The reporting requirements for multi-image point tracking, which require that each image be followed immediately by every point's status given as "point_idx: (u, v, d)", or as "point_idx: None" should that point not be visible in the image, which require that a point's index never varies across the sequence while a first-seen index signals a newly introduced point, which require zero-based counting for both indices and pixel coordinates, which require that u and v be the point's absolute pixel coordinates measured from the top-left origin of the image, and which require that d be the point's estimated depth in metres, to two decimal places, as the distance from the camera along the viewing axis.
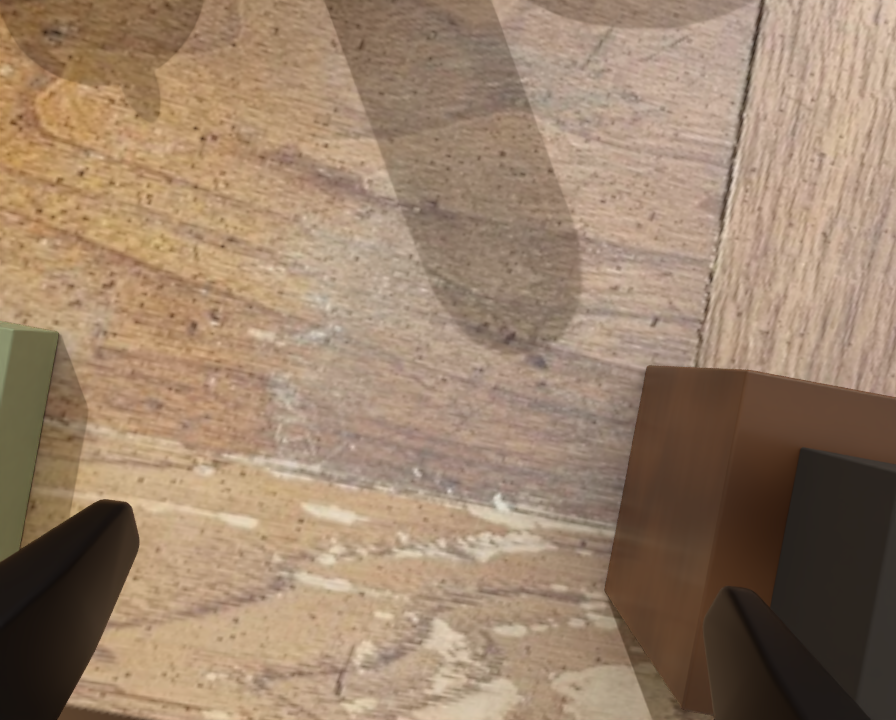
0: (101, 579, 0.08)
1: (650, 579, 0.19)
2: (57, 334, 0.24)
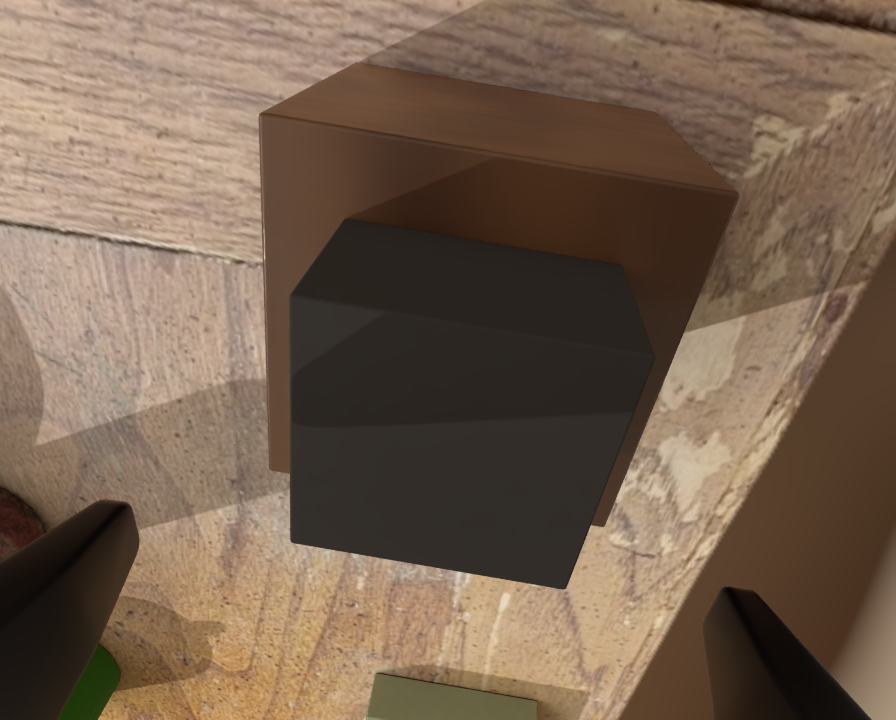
0: (101, 579, 0.08)
1: None
2: (376, 674, 0.35)
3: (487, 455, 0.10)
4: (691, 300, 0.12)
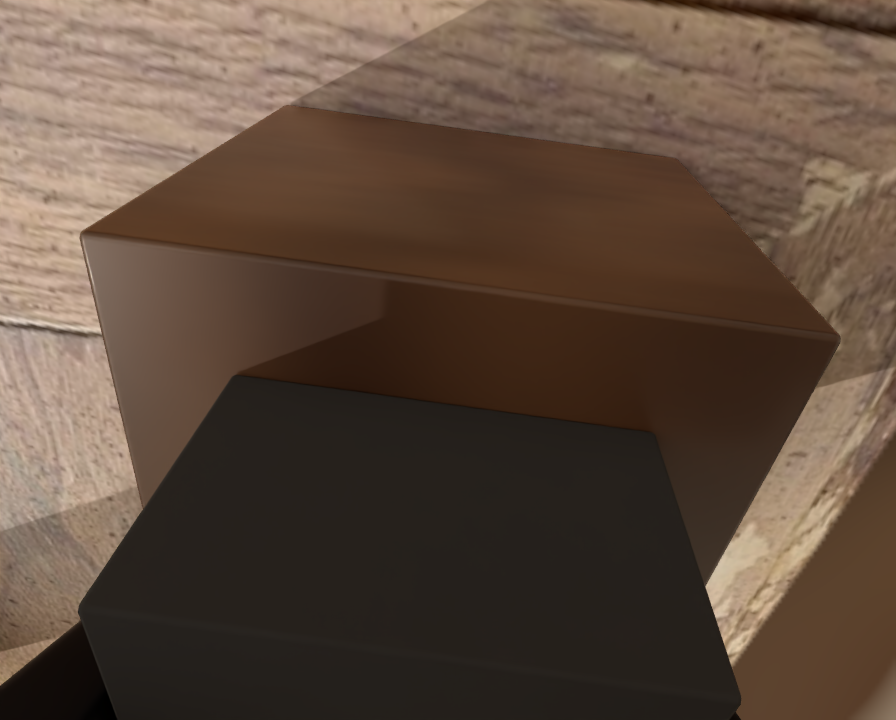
0: None
1: None
2: None
3: None
4: (757, 476, 0.08)
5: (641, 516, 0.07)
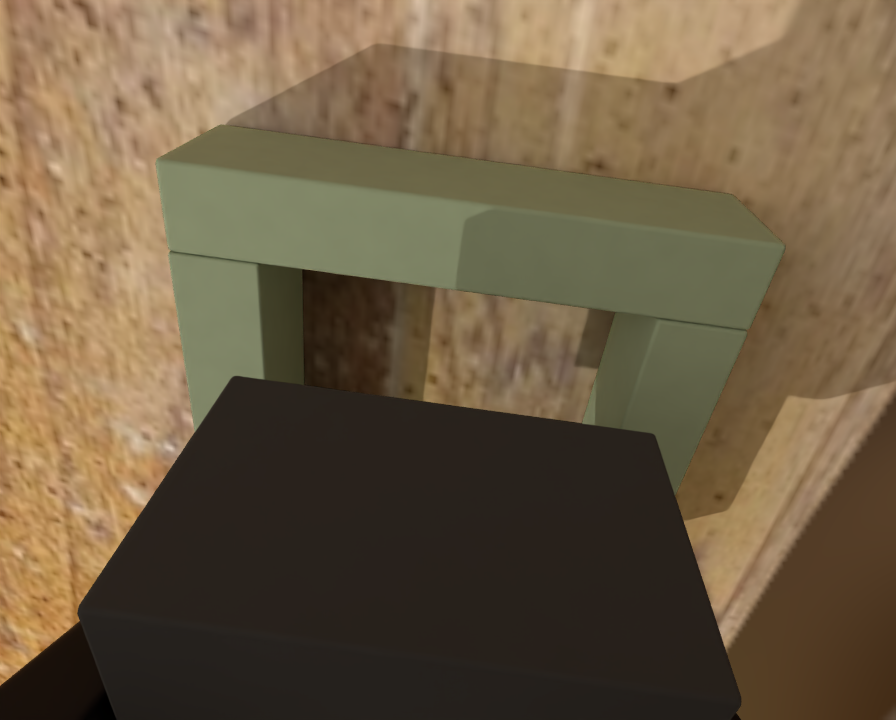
0: None
1: None
2: (221, 125, 0.11)
3: None
4: None
5: (641, 517, 0.07)
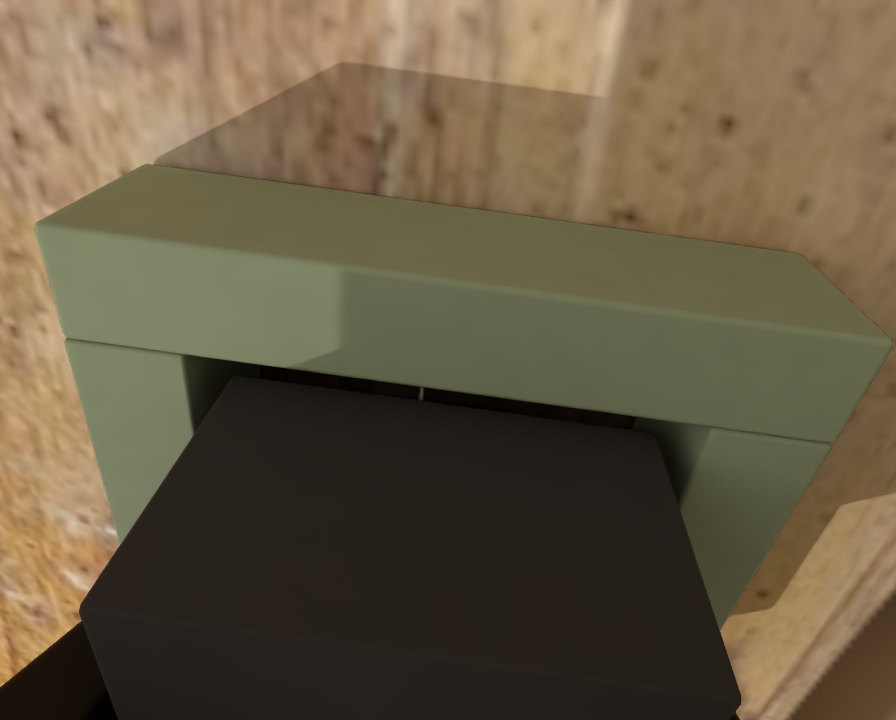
0: None
1: None
2: (147, 165, 0.09)
3: None
4: None
5: (641, 516, 0.07)
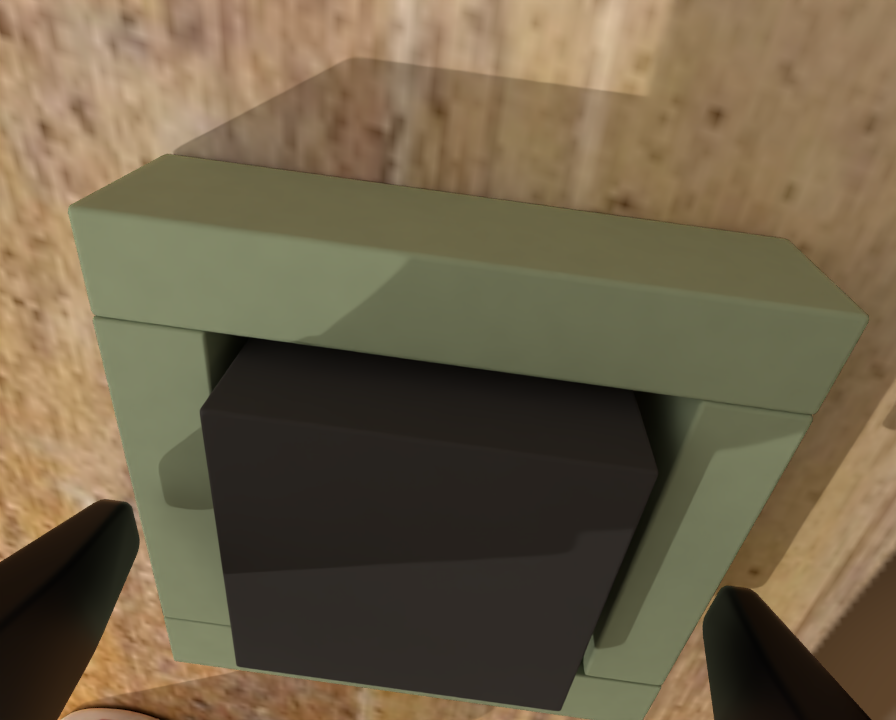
0: (101, 579, 0.08)
1: None
2: (167, 155, 0.09)
3: (457, 579, 0.09)
4: None
5: None
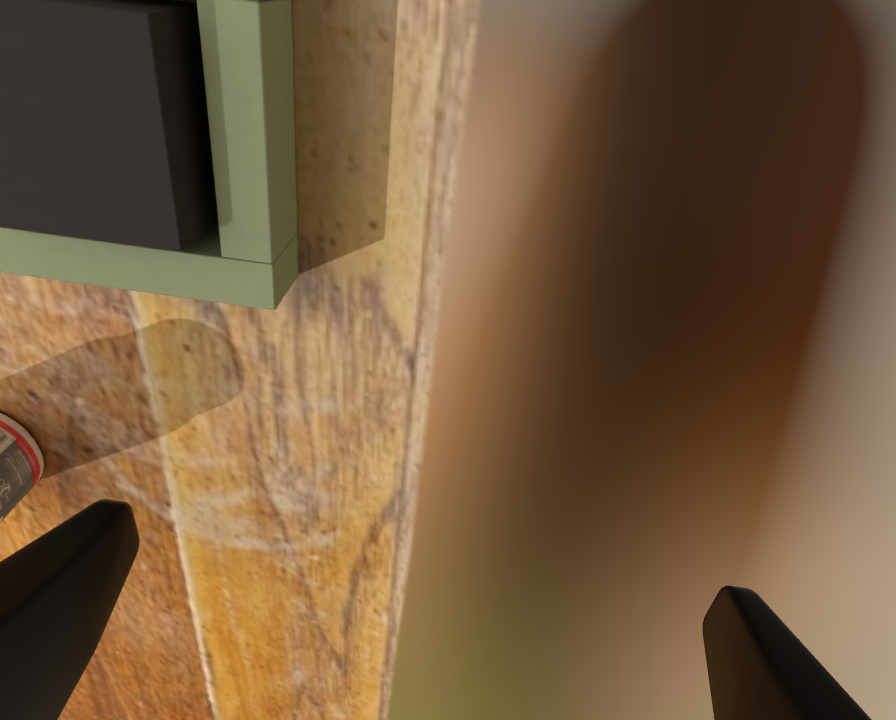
0: (101, 579, 0.08)
1: None
2: None
3: (75, 118, 0.14)
4: None
5: (168, 6, 0.15)
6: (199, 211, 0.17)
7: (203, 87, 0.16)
